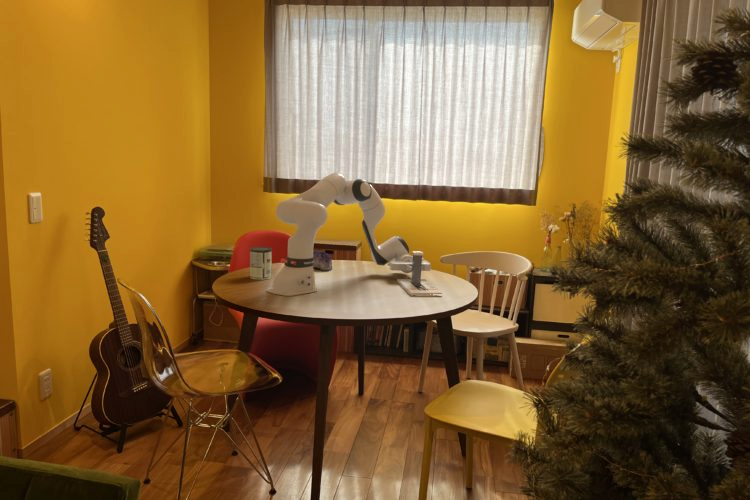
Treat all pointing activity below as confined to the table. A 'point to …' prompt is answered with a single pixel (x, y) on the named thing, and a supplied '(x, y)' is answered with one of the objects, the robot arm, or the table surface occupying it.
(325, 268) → the geode
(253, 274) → the coffee can
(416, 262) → the fader tab
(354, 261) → the table surface
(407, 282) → the console
